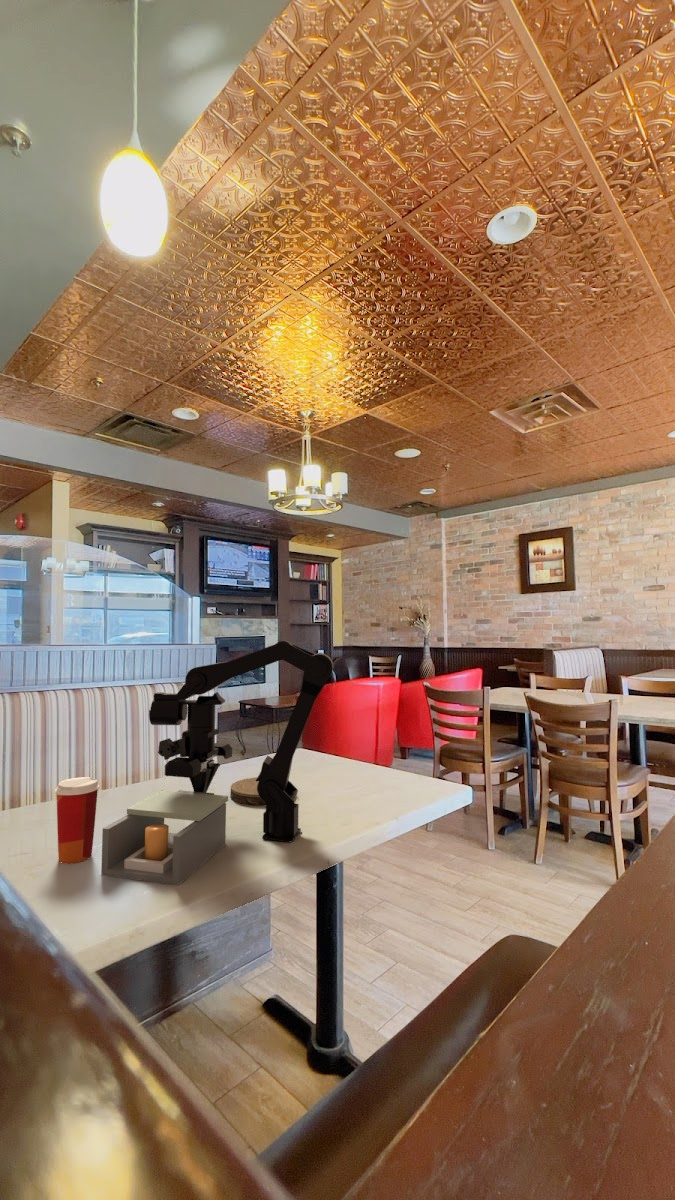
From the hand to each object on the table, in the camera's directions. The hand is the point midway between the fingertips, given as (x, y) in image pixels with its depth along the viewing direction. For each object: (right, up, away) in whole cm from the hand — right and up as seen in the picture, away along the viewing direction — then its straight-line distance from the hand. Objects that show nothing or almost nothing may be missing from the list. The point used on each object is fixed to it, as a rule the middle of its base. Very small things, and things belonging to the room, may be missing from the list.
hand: (199, 800), depth 113 cm
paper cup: (-20, -7, -12) cm, 25 cm away
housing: (-3, -6, -12) cm, 14 cm away
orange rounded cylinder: (-4, -5, -16) cm, 17 cm away
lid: (-2, 0, -8) cm, 8 cm away
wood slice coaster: (+9, -9, +26) cm, 29 cm away
